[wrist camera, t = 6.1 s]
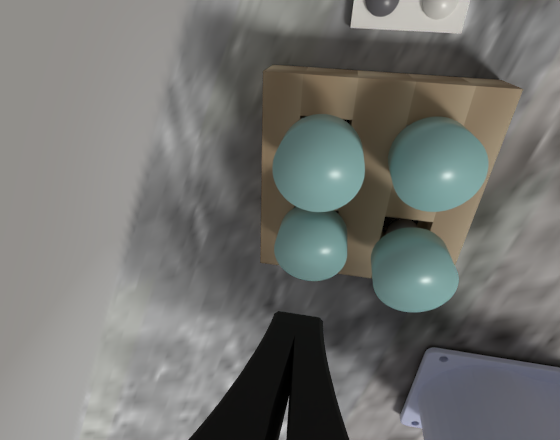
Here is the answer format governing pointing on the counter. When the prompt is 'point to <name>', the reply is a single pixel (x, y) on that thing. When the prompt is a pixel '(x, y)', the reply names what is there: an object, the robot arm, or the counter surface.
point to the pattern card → (410, 15)
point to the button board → (378, 144)
